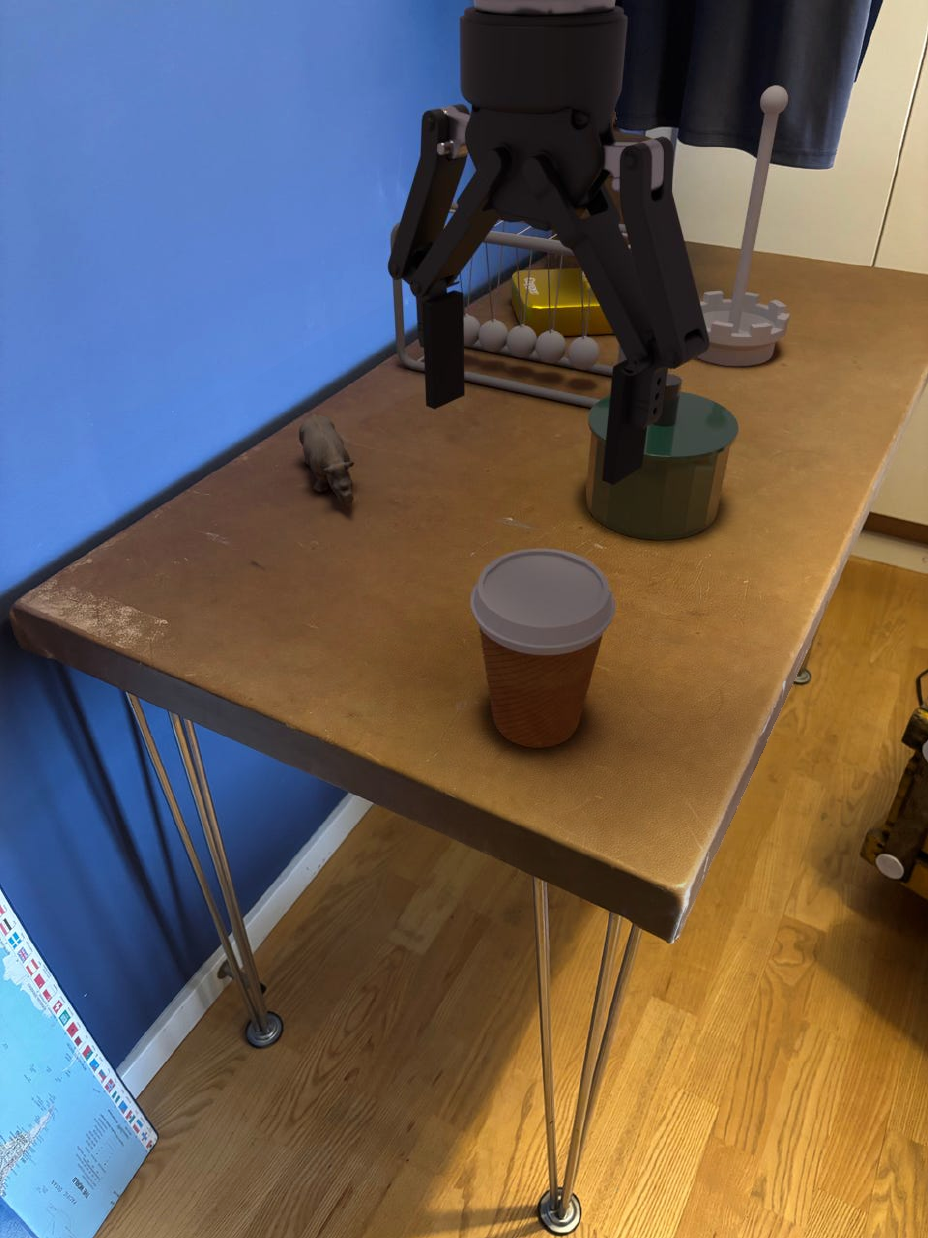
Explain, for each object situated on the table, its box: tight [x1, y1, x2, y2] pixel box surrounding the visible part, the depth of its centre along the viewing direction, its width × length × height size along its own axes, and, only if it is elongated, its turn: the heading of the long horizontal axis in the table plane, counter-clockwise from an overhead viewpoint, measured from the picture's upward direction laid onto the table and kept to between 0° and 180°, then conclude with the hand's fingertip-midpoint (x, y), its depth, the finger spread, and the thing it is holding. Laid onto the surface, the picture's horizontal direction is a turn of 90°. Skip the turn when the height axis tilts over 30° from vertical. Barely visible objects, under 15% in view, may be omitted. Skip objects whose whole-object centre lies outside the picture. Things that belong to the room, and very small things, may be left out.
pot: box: [585, 431, 731, 541], centre depth 87 cm, size 13×13×8 cm
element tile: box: [510, 268, 614, 338], centre depth 127 cm, size 15×15×5 cm
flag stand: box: [696, 85, 791, 367], centre depth 109 cm, size 13×13×30 cm
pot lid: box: [587, 373, 740, 461], centre depth 83 cm, size 14×14×5 cm
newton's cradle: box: [389, 201, 631, 409], centre depth 108 cm, size 30×10×18 cm, turn 62°
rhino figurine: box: [298, 413, 355, 507], centre depth 90 cm, size 4×14×6 cm, turn 21°
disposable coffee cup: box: [469, 547, 616, 749], centre depth 63 cm, size 10×10×12 cm
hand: (527, 435), depth 54 cm, fingers open, 13 cm apart
